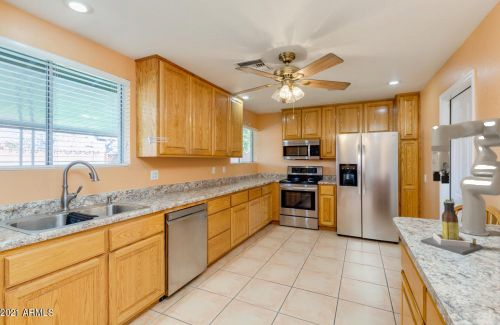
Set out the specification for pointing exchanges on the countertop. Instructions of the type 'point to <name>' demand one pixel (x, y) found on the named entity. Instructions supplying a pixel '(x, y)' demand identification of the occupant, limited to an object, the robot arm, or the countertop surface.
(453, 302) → the countertop surface
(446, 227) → the sauce bottle
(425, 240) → the locating plate
